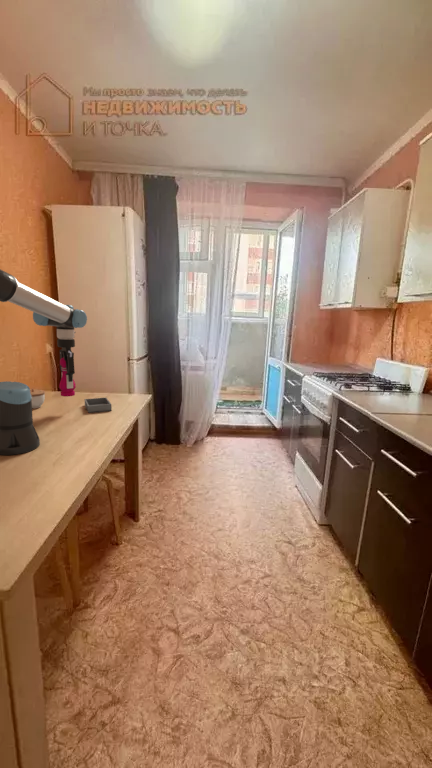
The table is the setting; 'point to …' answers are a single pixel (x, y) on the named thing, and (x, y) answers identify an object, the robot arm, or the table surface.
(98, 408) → the bin
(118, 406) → the table surface
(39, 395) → the lidded jar
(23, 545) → the table surface
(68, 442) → the table surface
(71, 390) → the pepper mill
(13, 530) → the table surface
